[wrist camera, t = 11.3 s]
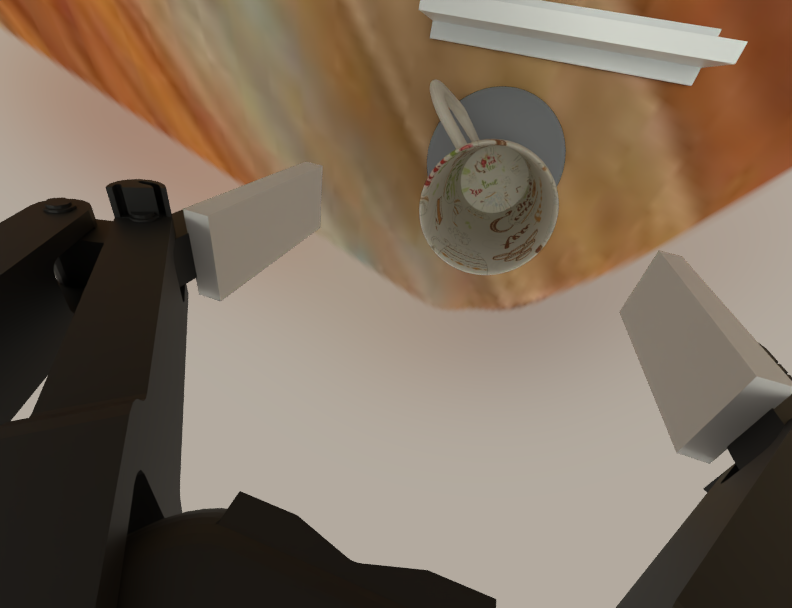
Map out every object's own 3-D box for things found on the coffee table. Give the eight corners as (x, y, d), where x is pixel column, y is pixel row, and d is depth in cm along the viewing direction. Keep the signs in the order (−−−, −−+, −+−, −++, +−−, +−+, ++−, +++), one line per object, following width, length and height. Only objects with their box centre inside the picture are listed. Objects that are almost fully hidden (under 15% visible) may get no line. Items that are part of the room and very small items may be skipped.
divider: (440, -14, 25) (425, -34, 21) (717, 30, 22) (761, 17, 18) (431, 38, 27) (415, 29, 23) (688, 85, 24) (722, 85, 20)
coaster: (444, 73, 28) (443, 73, 27) (590, 102, 26) (591, 102, 26) (416, 210, 34) (415, 211, 33) (534, 240, 32) (534, 242, 32)
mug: (474, 243, 33) (460, 294, 25) (399, 118, 30) (354, 130, 22) (565, 196, 29) (583, 239, 21) (490, 44, 26) (477, 25, 18)
